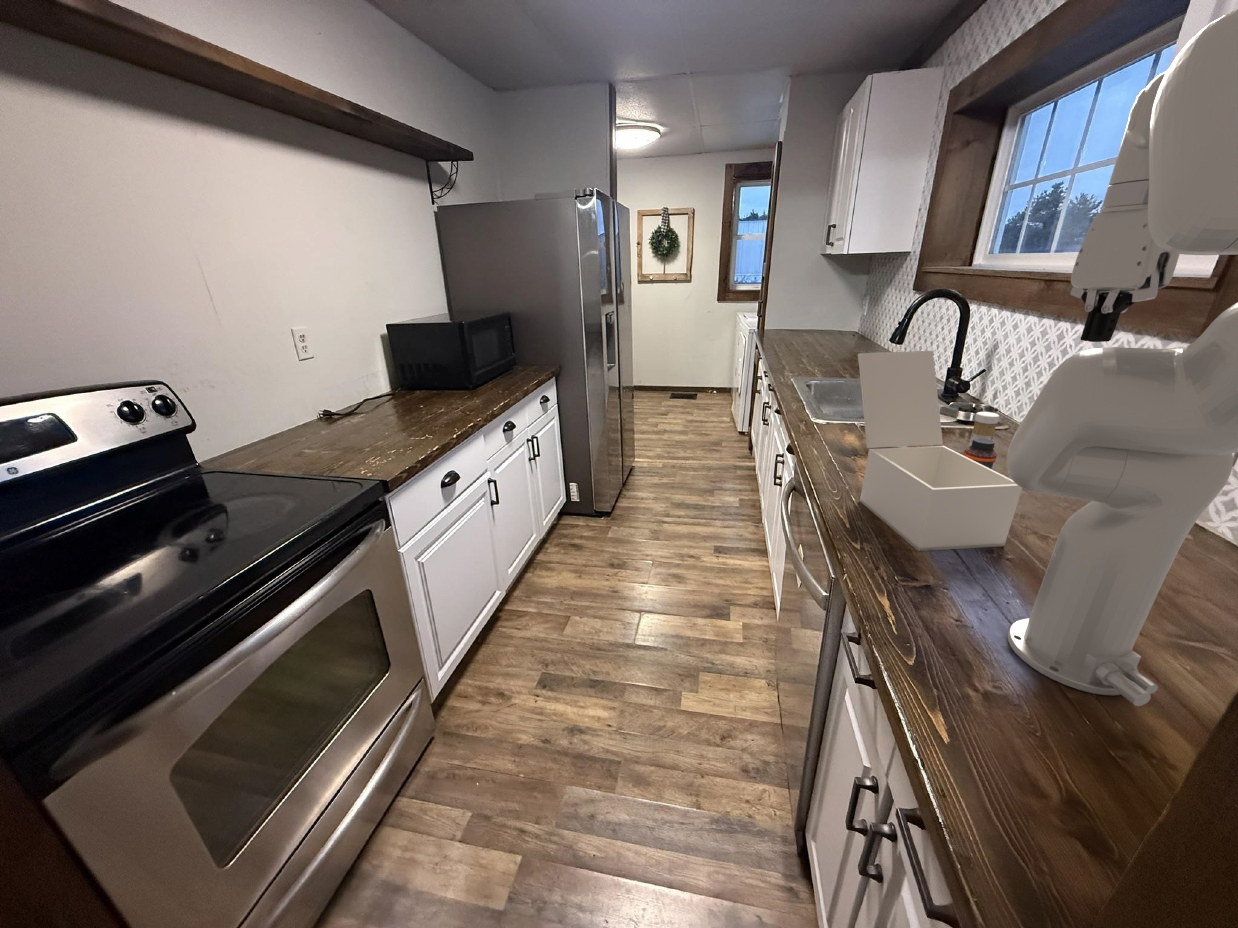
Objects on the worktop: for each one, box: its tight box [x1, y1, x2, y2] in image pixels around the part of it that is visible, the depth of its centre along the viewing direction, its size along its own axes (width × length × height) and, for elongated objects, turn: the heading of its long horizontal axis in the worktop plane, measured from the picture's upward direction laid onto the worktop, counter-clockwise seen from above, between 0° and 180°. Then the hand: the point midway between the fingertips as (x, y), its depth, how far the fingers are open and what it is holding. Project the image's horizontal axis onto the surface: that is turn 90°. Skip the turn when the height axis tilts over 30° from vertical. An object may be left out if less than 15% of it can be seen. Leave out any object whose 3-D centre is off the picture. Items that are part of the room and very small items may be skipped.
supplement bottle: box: [962, 438, 998, 470], centre depth 109 cm, size 6×6×11 cm
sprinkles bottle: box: [967, 411, 1000, 447], centre depth 120 cm, size 5×5×13 cm
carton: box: [859, 445, 1023, 552], centre depth 95 cm, size 20×16×12 cm
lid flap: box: [857, 350, 944, 449], centre depth 103 cm, size 20×16×1 cm
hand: (1095, 340), depth 72 cm, fingers closed
